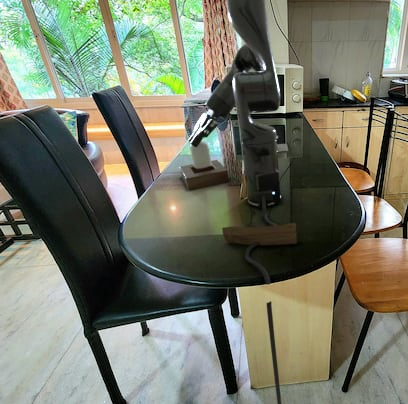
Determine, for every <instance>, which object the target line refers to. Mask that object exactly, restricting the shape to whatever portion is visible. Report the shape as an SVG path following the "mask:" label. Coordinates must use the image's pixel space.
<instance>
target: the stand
mask: <svg viewBox="0 0 408 404" xmlns="http://www.w3.org/2000/svg"><path fill="white" fill-rule="evenodd" d="M211 163H212V165H211V166H209V167H206V168H200V169H196V168H195V167H194V164H193V163H192V164H186V165H180V166H179V170H180V175H181V178H182V181H183V182H184V184H185V186H186V187H187V189H188V191H191V190H196V189H201V188H205V187H210V186H215V185H219V184H224V183H228V182H230V178H229V172H228V171H229V170H228V169H227V168H226V167H225V166H224V165H223V164H222V163H221V162H220V161H219V160H218V159H213V160H211Z"/></svg>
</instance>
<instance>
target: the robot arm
mask: <svg viewBox="0 0 408 404" xmlns="http://www.w3.org/2000/svg"><path fill="white" fill-rule="evenodd" d="M225 2H226V8H227V16H228V19H229V22H230V25H231V27H232V29H234V31H235V32H236V34H237V35H238V36H239V38H241V40H242V41H243V42H244V43H245V44H243V45H242V46H241V47H239V49H238V50H237V52H236V54H235V56H234V59H233V61H232V63H231V67H230V69H229V71H228V72H227V73H226V74H225V76H224V77H223V79H222V80H221V82H220V83H219V84H218V85H217V86H216V87H215V88H214V90H213V91H212V93H211V95H209V97H208V99H207V100H206V102H205V103H204V104H205V106H206V107H207V108H208V110H207V111H206V112H204V113H202V114H201V115H200V117H199V119H198V120H197V122H196V124H195V126H194V127H193V129H194V130H193V132H192V134H191V135H190V136H189V138H188V140H187V141H188V142H189V144H190V145H193V146H194V147H197V146H198V145H199V143H200V142H201V140H202V141H203V139H205V138H206V139H207V138H208V137H209V136H210V135H211V134H212V133H213V131H214V130H215V129H216V128H217V127H218V126H219V123H218V120H219V118H221V119H222V120H226V119H227V118H228V116H229V115H230V114H231V112H232V111H233V109H234V108H235V110H236V116H237V121H238V129H239V139H240V146H241V154H242V164H243V171H244V180H245V187H246V192H247V193H246V195H247V203H248V204H249V205H250V206H252V207H257V208H259V209H262V217H263V220H264V221H265V222H266V223H267V224H268V225H269V226H277V225H278V224H276V223H275V222H273V221H271V220H270V219H269V217H268V215H267V207H268V208H269V207H271V206H276V205H280V204H281V203H282V195H281V184H280V183H281V182H280V171H279V157H278V156H279V155H278V152H277V144H278V142H277V140H278V138H276V136H277V130H276V129H275V127H274V126H271V125H269V124H264V123H261V122H259V121H257V120H255V119H253V118H252V117H251V114H259V113H260V114H262V113H271V112H272V113H273V112H276V111H278V110H279V109H280V106H281V91H280V84H279V78H278V73H277V68H276V64H275V59H274V54H273V49H272V43H271V36H270V28H269V20H268V19H269V18H268V9H267V4H266V3H267V2H266V0H225ZM251 70H252V71H251ZM195 130H197V134H196V135H195V137H194V138H193V135H194V134H195ZM259 246H261V245H260V242H255V243H253V244H252V245H249V246H248V247H246V250H245V252H244V259H245V261H246V262H247V263H249V264H251V265H253V266H254V267H255V268H257V269H258V270H259V271H260V273H261V274H262V276H263V278H264V282H265V284H266V285H271V284H272V283H271V279H270V275H269V274H268V271H267V270H266V268H265V267H264V266H263V264H261V263H259V262H258V261H257V260H255V259H253V258H252V257H251V256H250V253H251V251H252V250H253V249H254V248H256V247H259ZM266 312H267V313H266V314H267V315H266V316H267V322H268V323H267V325H268V332H269V341H270V342H269V343H270V349H271V350H270V351H271V359H272V369H273V377H274V378H273V379H274V386H275V394H276V403H277V404H282V396H281V385H280V377H279V367H278V358H277V348H276V338H275V337H276V336H275V329H274V327H275V326H274V318H273V306H272V300H270V301H268V302H266Z"/></svg>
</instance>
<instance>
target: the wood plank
mask: <svg viewBox="0 0 408 404" xmlns="http://www.w3.org/2000/svg"><path fill="white" fill-rule="evenodd" d="M276 225H277V226H271V225H267V226H255V227H253V226H251V227H247V226H245V227H244V226H224V227H221V229H222V235H223V238H224V240H226V242H227V243H236V244H240V245H246V246H247V245H249V246H250V245H252V244H253V243H255V242H260V245H259V246H281V245H296V244H297V243H298V241H297V239H298V238H297V222H290V223H286V224H279V225H278V224H276Z"/></svg>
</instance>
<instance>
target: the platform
mask: <svg viewBox="0 0 408 404" xmlns="http://www.w3.org/2000/svg"><path fill="white" fill-rule="evenodd" d="M276 138H277V139H278V138H279V135H276ZM289 151H290V150H289V147H288V144H287V143H277V153H278V152H289Z"/></svg>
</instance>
